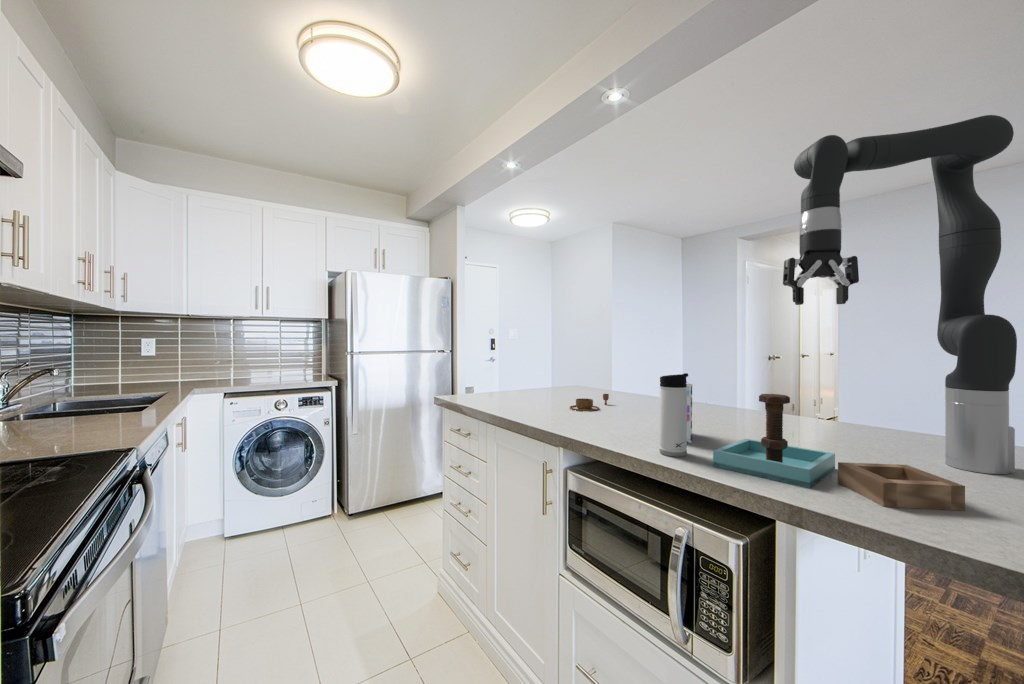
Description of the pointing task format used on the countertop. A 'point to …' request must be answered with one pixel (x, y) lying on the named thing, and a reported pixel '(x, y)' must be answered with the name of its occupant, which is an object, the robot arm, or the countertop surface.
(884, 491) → the tray
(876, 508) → the countertop surface
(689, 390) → the candy box
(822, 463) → the tray
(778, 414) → the bolt
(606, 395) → the place setting
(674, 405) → the travel mug
